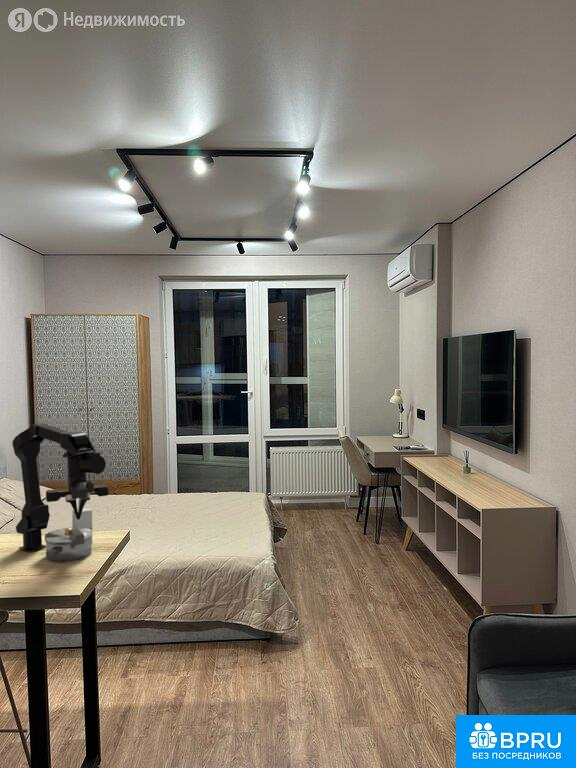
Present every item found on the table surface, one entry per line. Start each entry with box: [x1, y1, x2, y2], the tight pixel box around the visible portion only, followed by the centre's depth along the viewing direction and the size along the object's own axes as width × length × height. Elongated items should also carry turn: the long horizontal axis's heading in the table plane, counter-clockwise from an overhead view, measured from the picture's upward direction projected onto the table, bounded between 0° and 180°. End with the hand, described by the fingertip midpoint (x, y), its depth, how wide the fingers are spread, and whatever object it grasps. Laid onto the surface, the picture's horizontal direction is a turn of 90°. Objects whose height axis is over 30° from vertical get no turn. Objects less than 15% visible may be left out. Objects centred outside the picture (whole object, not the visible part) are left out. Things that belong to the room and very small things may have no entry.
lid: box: [44, 526, 93, 545], centre depth 187 cm, size 21×15×4 cm
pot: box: [45, 537, 92, 564], centre depth 187 cm, size 20×14×6 cm
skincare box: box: [71, 507, 93, 545], centre depth 202 cm, size 6×4×12 cm
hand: (78, 519), depth 185 cm, fingers closed
